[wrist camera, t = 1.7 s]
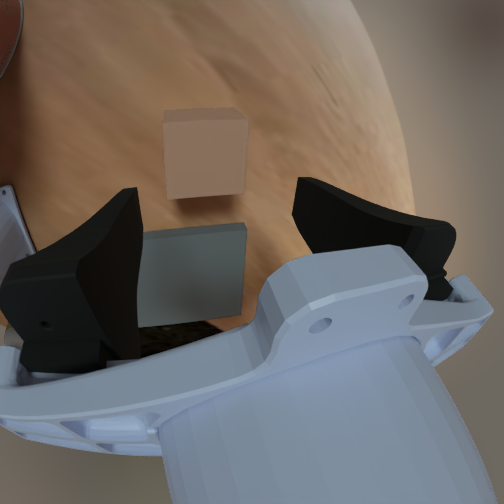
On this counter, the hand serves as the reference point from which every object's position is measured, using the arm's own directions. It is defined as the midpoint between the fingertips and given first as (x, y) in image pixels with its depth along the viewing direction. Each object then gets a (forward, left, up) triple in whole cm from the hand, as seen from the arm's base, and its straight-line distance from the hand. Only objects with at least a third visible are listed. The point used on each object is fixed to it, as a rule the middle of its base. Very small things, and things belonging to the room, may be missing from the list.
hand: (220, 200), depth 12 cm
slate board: (-5, -14, -10) cm, 18 cm away
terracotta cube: (0, 0, -10) cm, 10 cm away
